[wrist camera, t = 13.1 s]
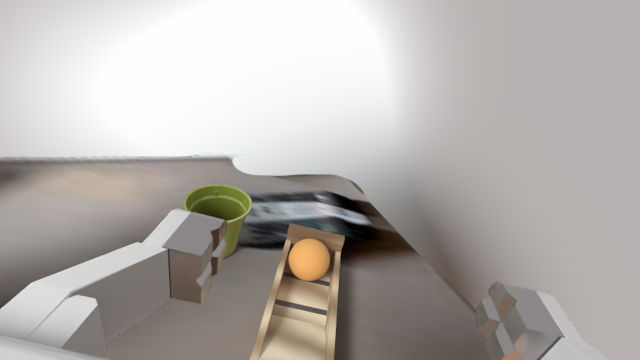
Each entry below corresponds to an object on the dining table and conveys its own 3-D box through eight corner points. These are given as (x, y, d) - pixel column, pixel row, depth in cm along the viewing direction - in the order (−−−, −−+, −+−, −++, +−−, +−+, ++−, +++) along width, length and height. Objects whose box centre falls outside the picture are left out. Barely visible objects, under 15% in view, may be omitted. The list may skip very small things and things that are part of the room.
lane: (322, 418, 32) (337, 384, 29) (241, 400, 32) (246, 364, 29) (335, 266, 51) (344, 235, 48) (283, 254, 51) (289, 223, 48)
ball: (281, 268, 48) (279, 263, 42) (303, 235, 50) (303, 226, 44) (315, 290, 47) (316, 288, 42) (335, 255, 49) (339, 249, 44)
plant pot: (256, 256, 50) (263, 213, 45) (195, 277, 44) (196, 229, 40) (232, 221, 56) (236, 180, 51) (176, 235, 50) (175, 190, 46)
